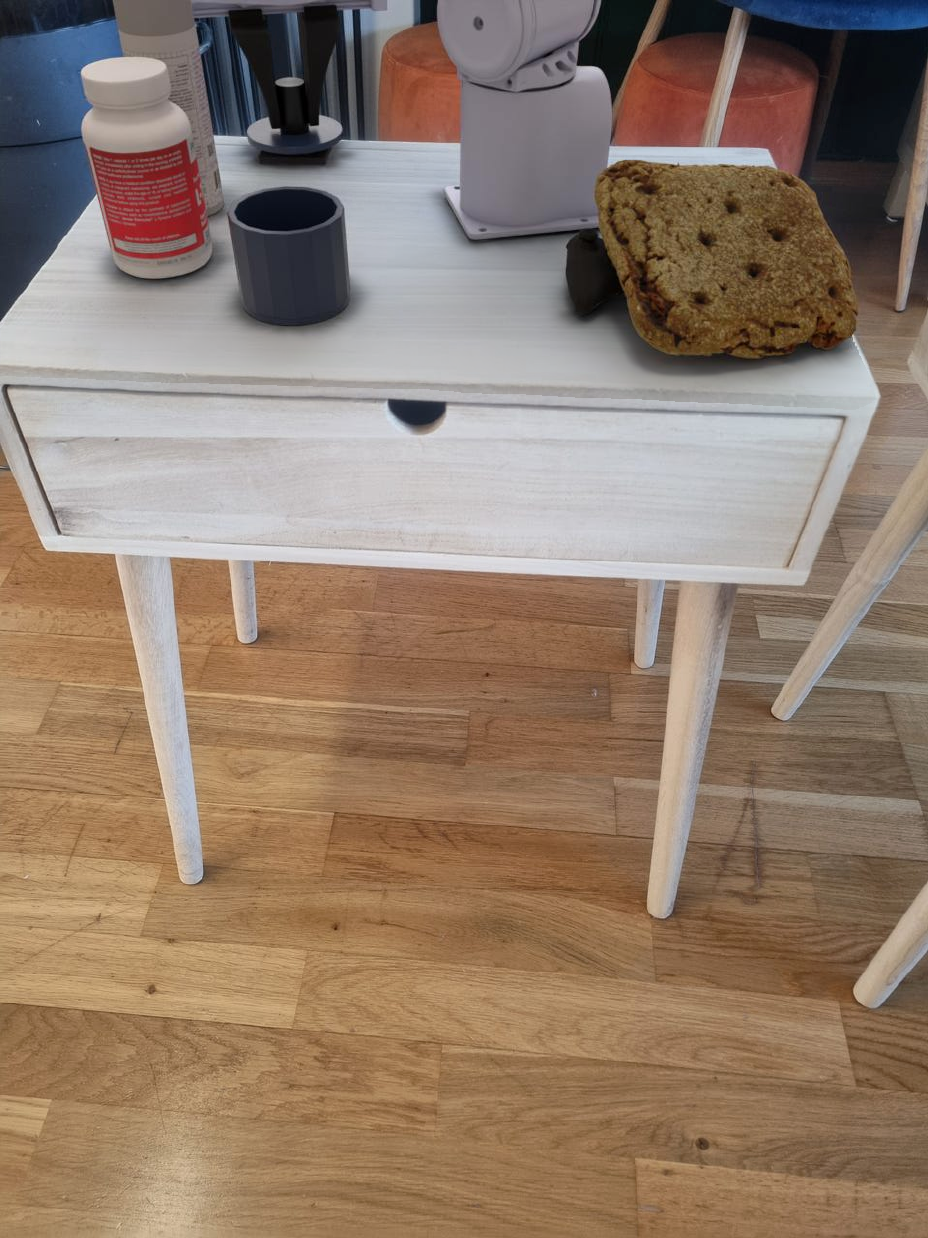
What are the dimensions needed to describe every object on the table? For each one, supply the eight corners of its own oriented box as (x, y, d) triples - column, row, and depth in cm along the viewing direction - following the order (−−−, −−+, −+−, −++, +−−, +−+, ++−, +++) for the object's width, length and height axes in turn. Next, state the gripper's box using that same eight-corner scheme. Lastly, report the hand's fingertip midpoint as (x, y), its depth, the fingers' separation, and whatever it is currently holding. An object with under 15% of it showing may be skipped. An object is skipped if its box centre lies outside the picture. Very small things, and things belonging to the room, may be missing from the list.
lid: (349, 128, 78) (345, 67, 75) (336, 164, 73) (331, 99, 69) (258, 126, 78) (250, 64, 75) (239, 161, 73) (230, 96, 70)
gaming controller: (577, 314, 57) (570, 222, 56) (554, 322, 61) (547, 237, 60) (720, 299, 58) (716, 209, 57) (687, 308, 63) (682, 225, 62)
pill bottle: (229, 266, 62) (197, 73, 54) (135, 291, 60) (87, 93, 52) (191, 230, 66) (155, 44, 58) (101, 252, 63) (51, 61, 55)
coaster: (334, 140, 77) (334, 133, 77) (325, 165, 74) (324, 158, 73) (271, 138, 77) (270, 131, 77) (259, 163, 74) (258, 156, 74)
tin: (356, 275, 61) (349, 187, 58) (342, 327, 57) (334, 235, 53) (254, 272, 62) (241, 184, 58) (232, 323, 57) (216, 231, 53)
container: (185, 186, 71) (139, -64, 60) (238, 200, 69) (200, -55, 58) (141, 210, 68) (83, -49, 57) (194, 225, 66) (146, -38, 56)
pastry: (896, 272, 60) (926, 235, 58) (772, 443, 53) (800, 410, 50) (667, 115, 62) (686, 72, 59) (514, 259, 54) (528, 217, 52)
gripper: (370, -114, 68) (379, 97, 78) (155, -107, 66) (193, 111, 76) (389, -93, 64) (397, 129, 73) (159, -85, 61) (198, 144, 71)
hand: (294, 122), depth 74 cm, fingers closed on lid, 2 cm apart
